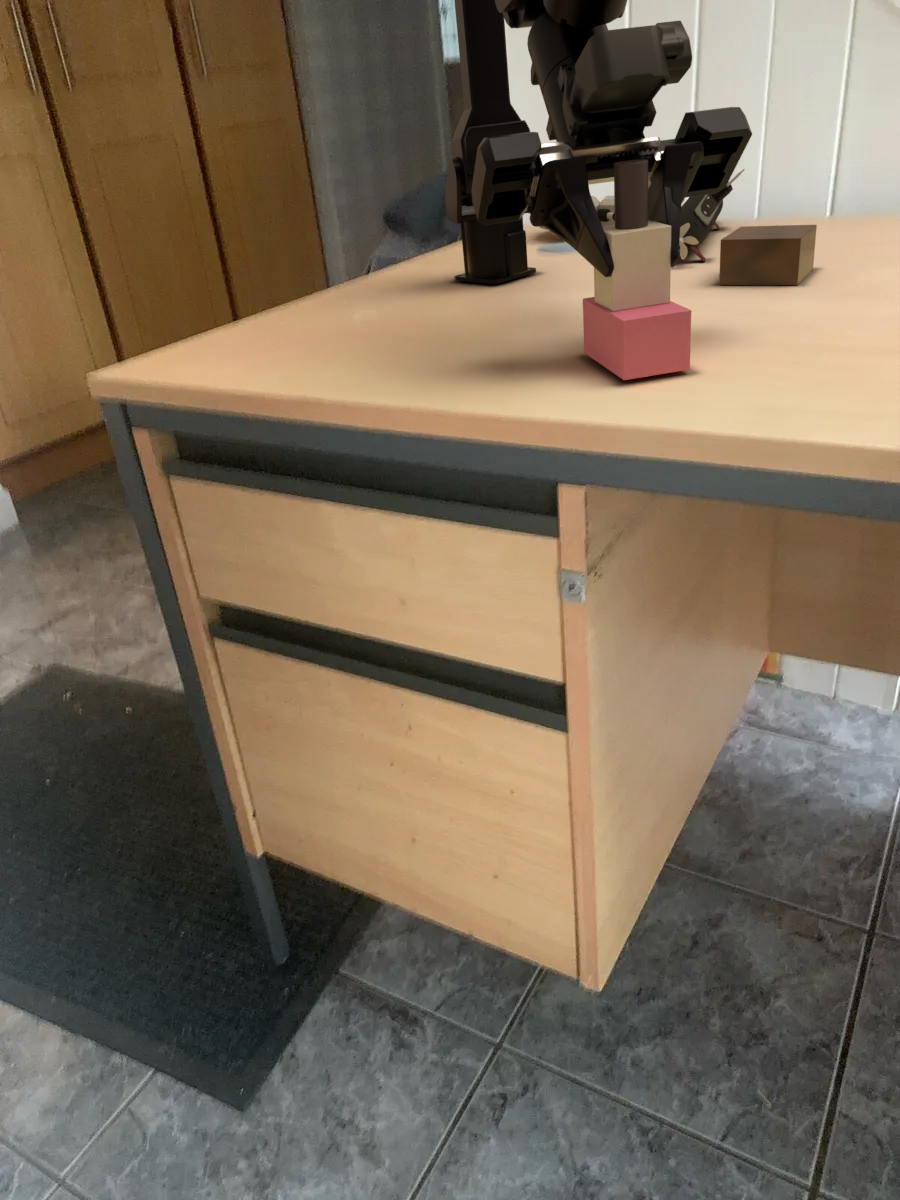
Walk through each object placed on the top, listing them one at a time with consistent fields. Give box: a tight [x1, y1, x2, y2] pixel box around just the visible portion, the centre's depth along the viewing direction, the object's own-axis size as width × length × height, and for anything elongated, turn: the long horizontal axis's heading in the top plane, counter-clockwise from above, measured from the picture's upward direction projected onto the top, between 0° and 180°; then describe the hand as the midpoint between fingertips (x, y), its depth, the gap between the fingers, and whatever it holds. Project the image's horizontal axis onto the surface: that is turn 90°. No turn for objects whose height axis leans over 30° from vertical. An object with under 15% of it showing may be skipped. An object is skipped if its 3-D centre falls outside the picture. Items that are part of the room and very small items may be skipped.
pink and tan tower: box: [582, 160, 692, 381], centre depth 64 cm, size 8×5×13 cm, turn 12°
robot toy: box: [538, 195, 615, 239], centre depth 120 cm, size 12×4×15 cm
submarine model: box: [679, 168, 745, 262], centre depth 106 cm, size 31×7×10 cm
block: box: [718, 224, 818, 286], centre depth 87 cm, size 7×7×4 cm
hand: (641, 268), depth 63 cm, fingers closed on pink and tan tower, 4 cm apart
